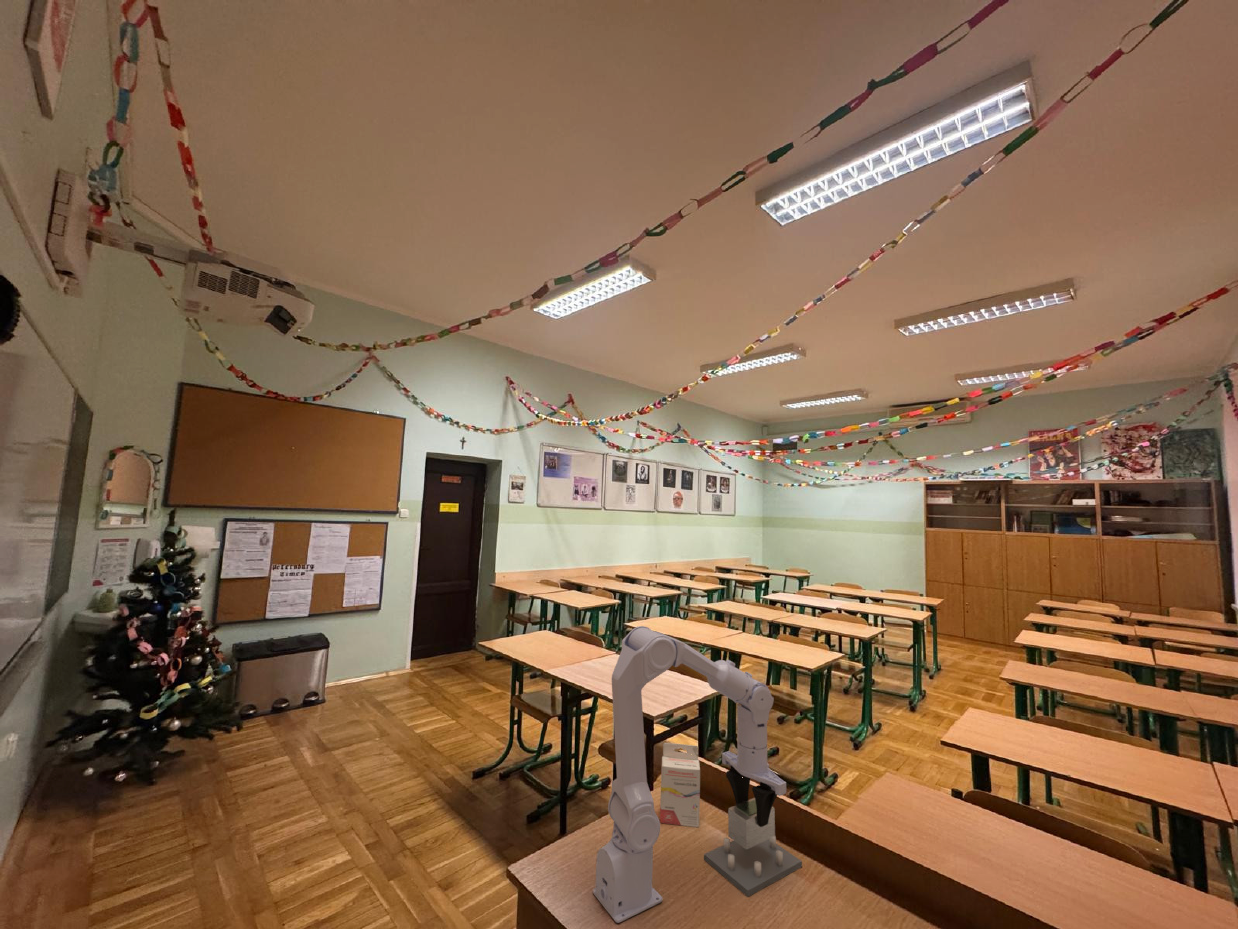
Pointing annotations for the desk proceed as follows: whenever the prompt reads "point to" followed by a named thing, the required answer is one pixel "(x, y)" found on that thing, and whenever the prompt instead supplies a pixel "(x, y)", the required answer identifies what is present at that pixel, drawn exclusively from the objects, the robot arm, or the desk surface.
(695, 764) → the ink cartridge box
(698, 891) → the desk surface
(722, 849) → the pin tray
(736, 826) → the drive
